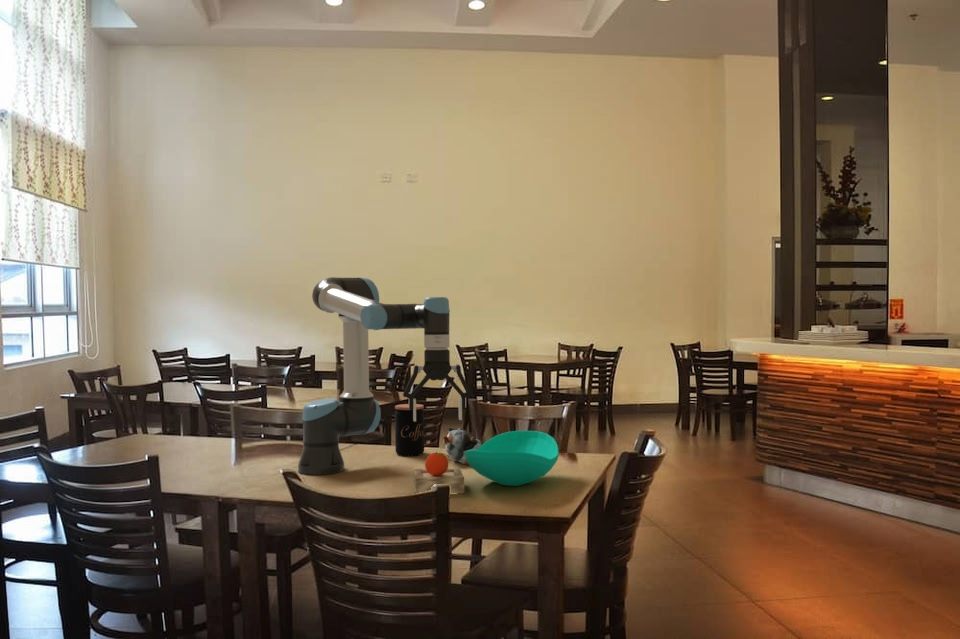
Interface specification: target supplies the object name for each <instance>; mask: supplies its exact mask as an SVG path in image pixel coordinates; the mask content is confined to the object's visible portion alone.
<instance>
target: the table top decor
mask: <svg viewBox="0 0 960 639" xmlns="http://www.w3.org/2000/svg"><path fill="white" fill-rule="evenodd" d="M559 456H560V452H559V446H558V444H557V441H556V439H555V438H554V437H553V436H551V435H550V434H548V433H545V432H542V431H539V430H538V431H536V430H514V431H513V430H511V431H506V432H502V433H499V434H497V435H495V436H493V437H491V438H490V439H488V440H486V441H485V442H484V443H483V445H481V446H480V447H479V448H478V449H477V450H467V451H466V452H465V457H466V460H467V462H468V463H469V465H470V466H469V467H471V469H473V470H474V471H475V472H476V473H478V475H480V476H483V477H484V478H486V479H488V480H490V481H493V482H495V483H498V484H499V485H501V486H511V487H512V486H513V487H518V486H523V485H526V484H528V483H532V482H534V481H536V480H538V479H541V478H542V477H544V476H546V475H547V474H548V473H549V472H550V471H551V470H552V468H554V466H555V465H556V463H557V461H558V460H559Z"/></svg>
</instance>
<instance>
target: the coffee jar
mask: <svg viewBox="0 0 960 639" xmlns="http://www.w3.org/2000/svg"><path fill="white" fill-rule="evenodd" d="M424 408H425V407H424V404H420V403H416V421H413V410H410V408H409V403H404V404H397V405H395V406H394V409H395V410H396V411H395V413H394V420H395V421H394V425H395V426H394V427H395V428H394V430H395V434H394V436H395V438H394V439H395V453H396V454H397V456H400V457H417V456H421V455H423V454H424V452H425V412H424V410H423V409H424Z"/></svg>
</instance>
